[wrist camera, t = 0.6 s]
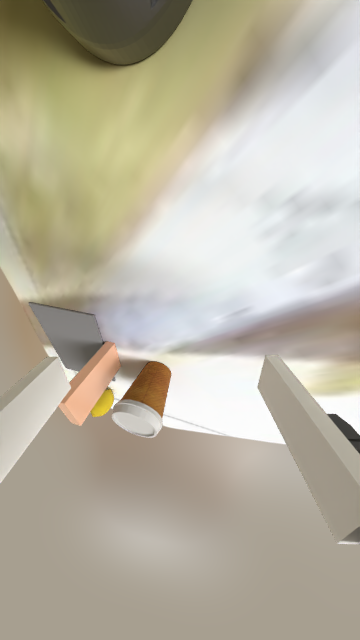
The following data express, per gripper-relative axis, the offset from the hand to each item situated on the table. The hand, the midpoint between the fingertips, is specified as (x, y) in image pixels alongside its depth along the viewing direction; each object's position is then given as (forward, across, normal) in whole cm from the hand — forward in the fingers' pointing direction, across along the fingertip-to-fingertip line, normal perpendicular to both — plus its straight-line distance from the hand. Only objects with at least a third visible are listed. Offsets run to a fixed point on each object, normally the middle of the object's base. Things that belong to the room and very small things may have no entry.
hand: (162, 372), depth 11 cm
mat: (+26, -25, -16) cm, 39 cm away
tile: (+23, -15, -16) cm, 32 cm away
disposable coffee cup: (+21, -4, -20) cm, 29 cm away
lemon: (+28, -21, -33) cm, 48 cm away
